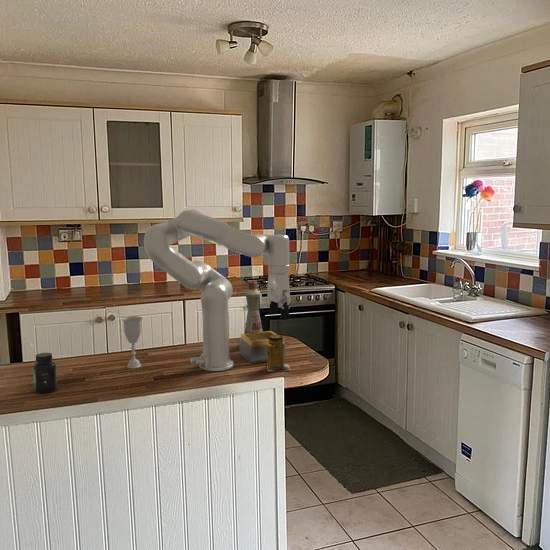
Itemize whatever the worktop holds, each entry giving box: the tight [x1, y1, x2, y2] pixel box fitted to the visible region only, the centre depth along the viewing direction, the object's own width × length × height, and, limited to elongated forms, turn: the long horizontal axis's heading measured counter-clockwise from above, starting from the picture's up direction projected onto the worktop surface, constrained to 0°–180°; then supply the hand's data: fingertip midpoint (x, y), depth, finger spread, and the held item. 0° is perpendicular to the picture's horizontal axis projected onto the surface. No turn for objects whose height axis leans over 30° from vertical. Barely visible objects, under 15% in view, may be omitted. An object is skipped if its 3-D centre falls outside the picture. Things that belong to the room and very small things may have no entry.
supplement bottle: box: [32, 352, 58, 395], centre depth 173 cm, size 7×7×12 cm
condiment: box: [266, 334, 291, 372], centre depth 195 cm, size 7×8×12 cm
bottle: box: [243, 279, 264, 334], centre depth 222 cm, size 9×9×28 cm
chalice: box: [121, 315, 143, 369], centre depth 197 cm, size 7×7×18 cm
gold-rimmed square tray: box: [238, 330, 287, 364], centre depth 210 cm, size 16×13×8 cm
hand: (279, 316), depth 193 cm, fingers open, 9 cm apart
